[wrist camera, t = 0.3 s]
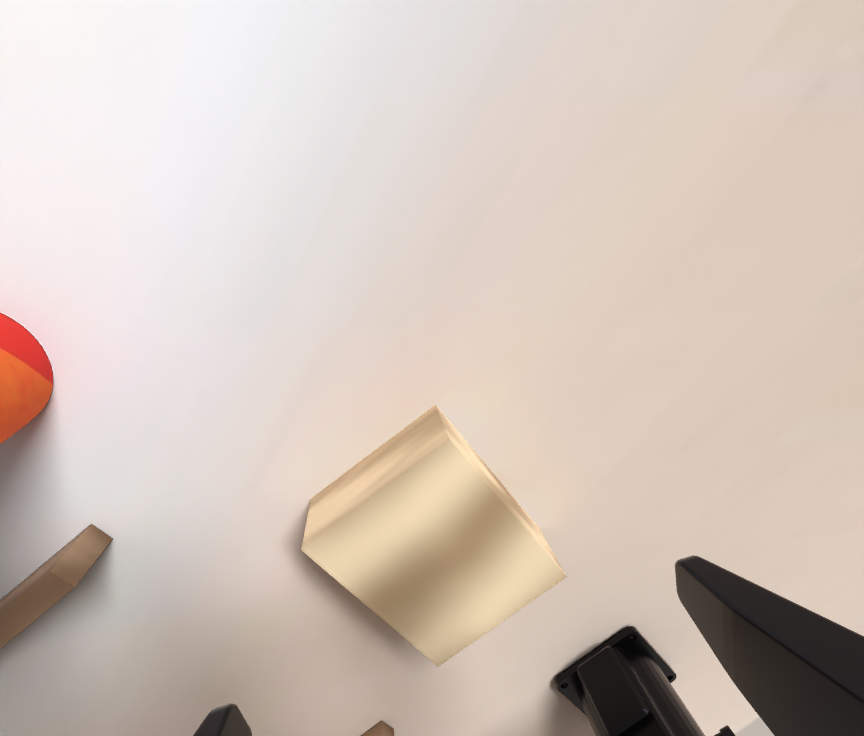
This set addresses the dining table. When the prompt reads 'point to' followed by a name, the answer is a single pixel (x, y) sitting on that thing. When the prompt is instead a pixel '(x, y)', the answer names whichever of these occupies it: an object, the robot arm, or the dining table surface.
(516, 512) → the cream rectangular block
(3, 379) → the paper cup
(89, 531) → the brown angled piece
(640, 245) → the dining table surface
